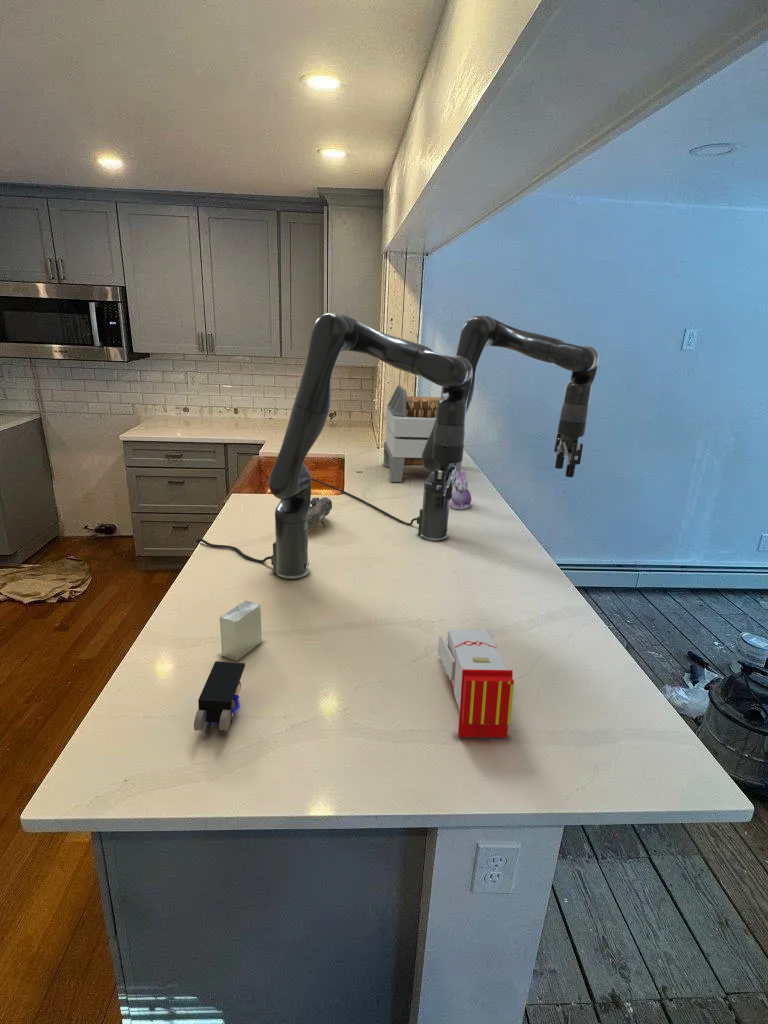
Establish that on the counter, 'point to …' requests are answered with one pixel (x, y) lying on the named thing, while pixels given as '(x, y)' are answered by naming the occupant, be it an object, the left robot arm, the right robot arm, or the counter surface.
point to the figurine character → (219, 696)
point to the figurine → (461, 492)
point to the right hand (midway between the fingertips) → (563, 472)
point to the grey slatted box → (408, 431)
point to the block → (240, 630)
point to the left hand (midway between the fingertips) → (443, 504)
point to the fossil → (318, 511)
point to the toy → (478, 682)
